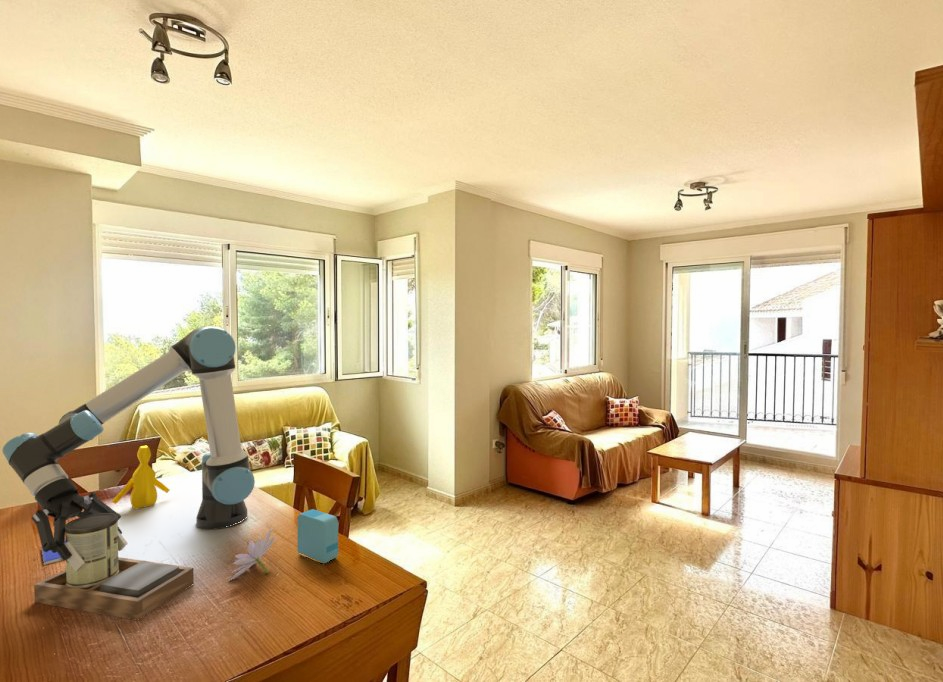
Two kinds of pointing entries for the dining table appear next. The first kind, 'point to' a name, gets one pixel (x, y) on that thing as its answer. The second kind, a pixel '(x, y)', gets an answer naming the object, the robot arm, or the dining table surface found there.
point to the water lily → (253, 555)
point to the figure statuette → (142, 483)
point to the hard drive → (50, 557)
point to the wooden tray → (119, 589)
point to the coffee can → (93, 549)
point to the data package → (317, 535)
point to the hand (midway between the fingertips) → (102, 556)
